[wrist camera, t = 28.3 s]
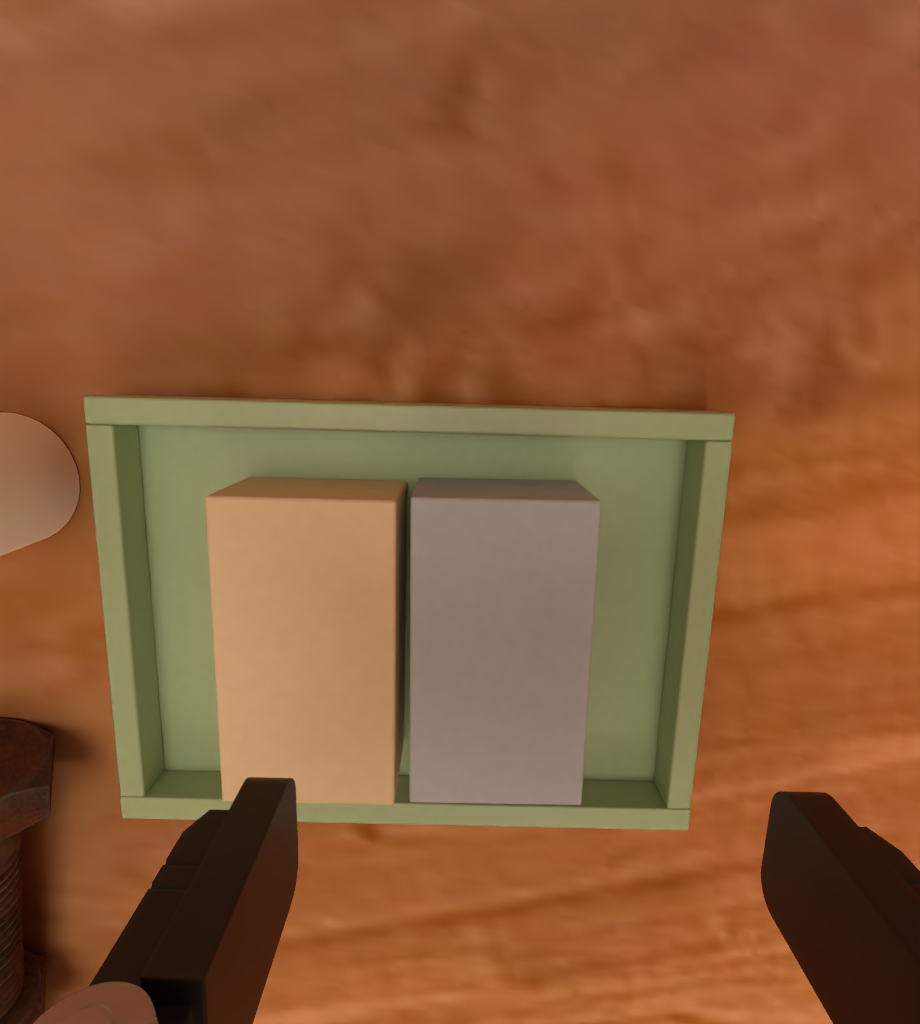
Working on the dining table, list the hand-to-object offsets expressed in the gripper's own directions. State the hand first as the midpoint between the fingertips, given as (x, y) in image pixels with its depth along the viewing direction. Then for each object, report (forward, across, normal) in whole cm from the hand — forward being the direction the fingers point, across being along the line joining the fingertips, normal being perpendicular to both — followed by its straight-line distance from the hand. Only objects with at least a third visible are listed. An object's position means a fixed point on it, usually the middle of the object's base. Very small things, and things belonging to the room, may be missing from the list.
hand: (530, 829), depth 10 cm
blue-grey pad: (+10, 0, 0) cm, 10 cm away
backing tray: (+11, +3, 0) cm, 11 cm away
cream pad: (+10, +6, 0) cm, 12 cm away
